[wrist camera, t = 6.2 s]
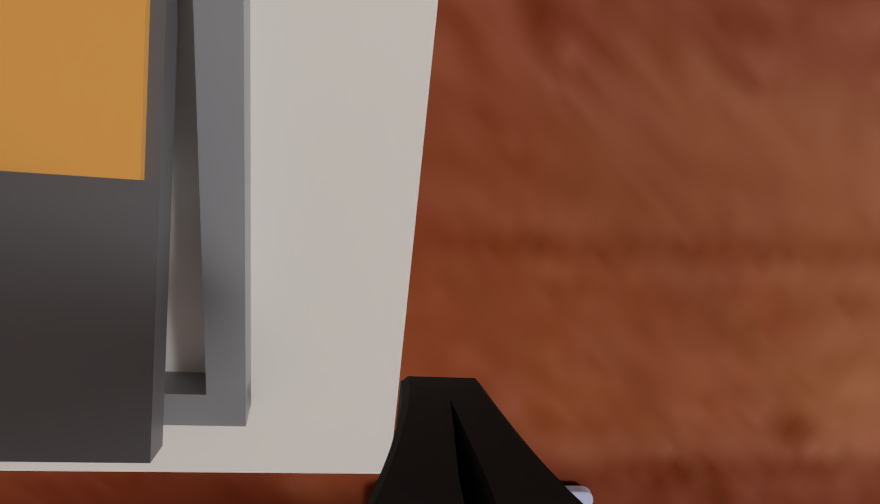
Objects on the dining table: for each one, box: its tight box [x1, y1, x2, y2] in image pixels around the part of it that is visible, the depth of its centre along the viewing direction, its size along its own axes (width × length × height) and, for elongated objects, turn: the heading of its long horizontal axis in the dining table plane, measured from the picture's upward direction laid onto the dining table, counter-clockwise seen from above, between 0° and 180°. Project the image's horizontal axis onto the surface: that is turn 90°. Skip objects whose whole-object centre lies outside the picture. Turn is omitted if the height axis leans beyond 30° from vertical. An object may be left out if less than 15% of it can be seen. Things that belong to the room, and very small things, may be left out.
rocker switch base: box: [0, 0, 438, 474], centre depth 17 cm, size 18×16×4 cm
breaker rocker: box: [0, 0, 179, 463], centre depth 14 cm, size 10×5×1 cm, turn 173°
